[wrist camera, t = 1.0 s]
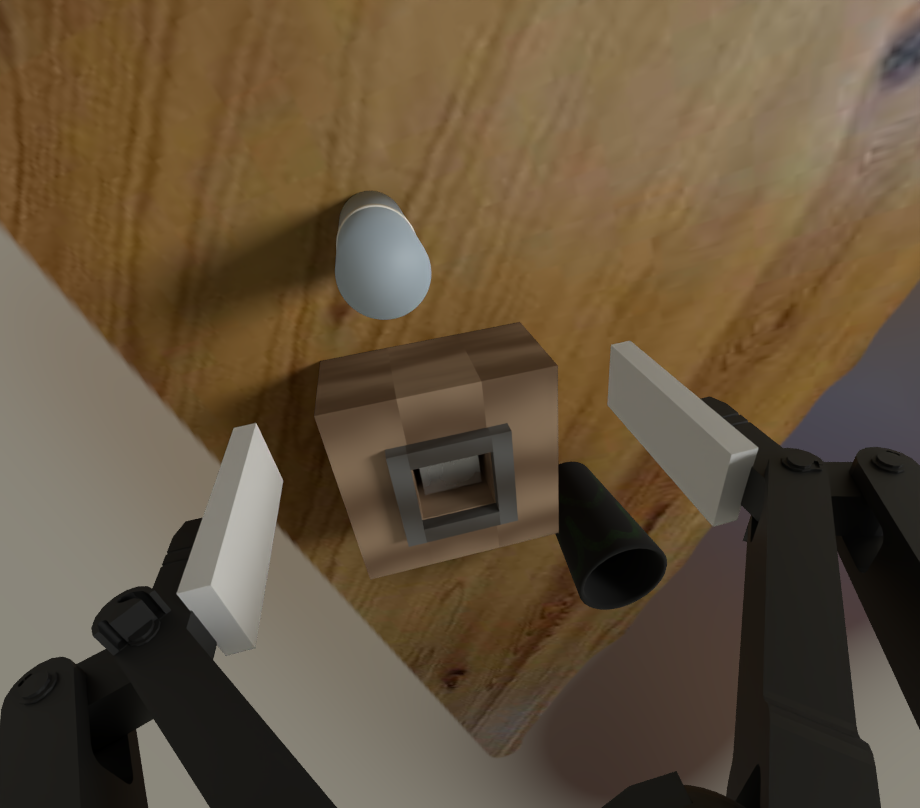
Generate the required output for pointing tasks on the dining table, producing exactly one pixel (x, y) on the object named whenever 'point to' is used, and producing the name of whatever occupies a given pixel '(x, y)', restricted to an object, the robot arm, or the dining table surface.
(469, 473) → the grey square plate
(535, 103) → the dining table surface
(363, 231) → the peg
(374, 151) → the dining table surface
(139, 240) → the dining table surface
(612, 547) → the cup
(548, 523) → the socket block
